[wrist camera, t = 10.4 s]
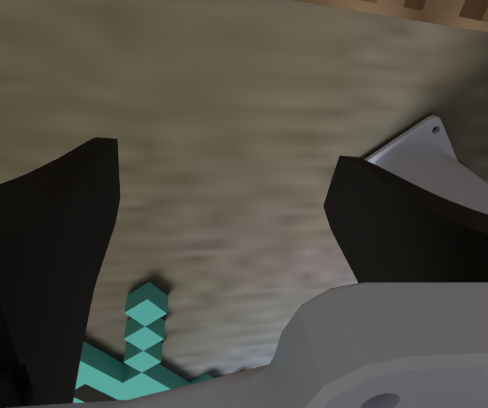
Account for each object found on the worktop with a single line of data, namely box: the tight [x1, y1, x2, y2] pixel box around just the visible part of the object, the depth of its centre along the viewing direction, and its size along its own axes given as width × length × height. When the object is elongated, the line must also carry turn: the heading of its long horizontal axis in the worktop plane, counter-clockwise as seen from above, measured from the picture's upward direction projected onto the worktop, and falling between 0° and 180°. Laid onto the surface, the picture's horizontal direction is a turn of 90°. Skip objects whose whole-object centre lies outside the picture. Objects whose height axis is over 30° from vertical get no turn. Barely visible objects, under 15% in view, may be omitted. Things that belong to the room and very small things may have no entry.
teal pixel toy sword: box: [73, 282, 214, 403], centre depth 35 cm, size 20×2×20 cm
